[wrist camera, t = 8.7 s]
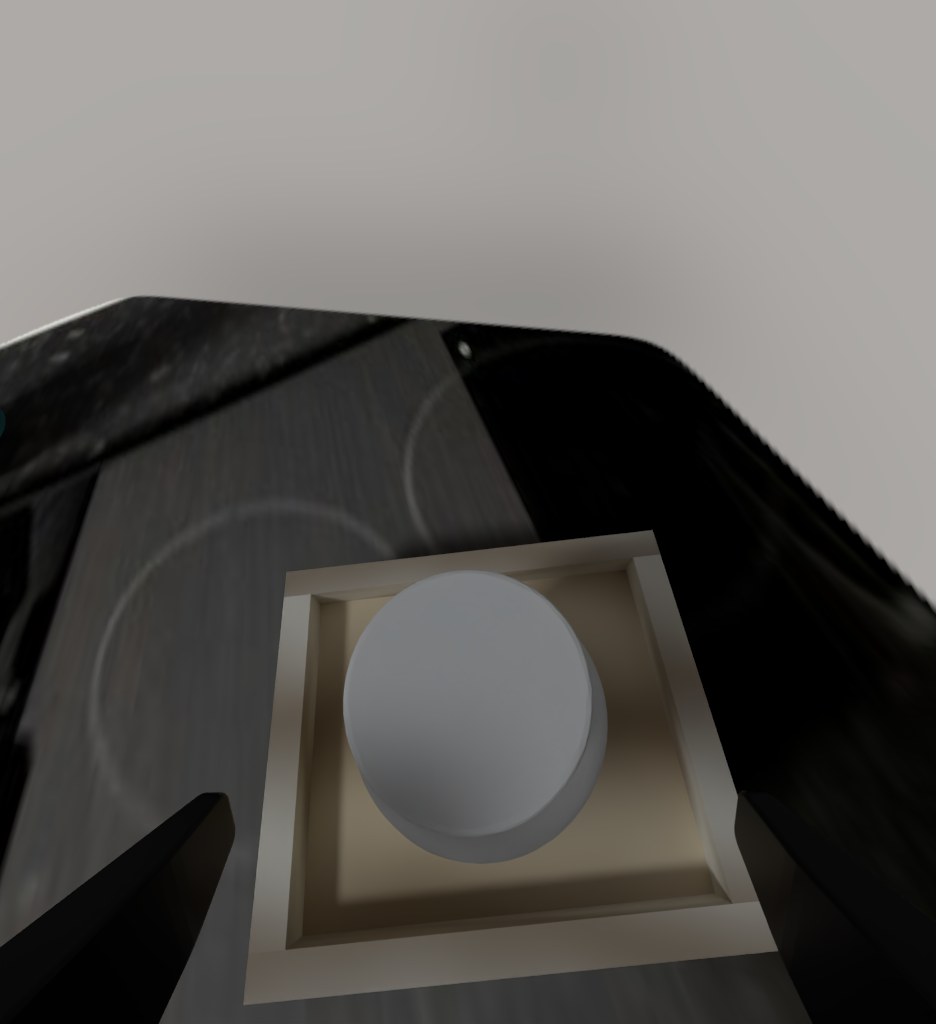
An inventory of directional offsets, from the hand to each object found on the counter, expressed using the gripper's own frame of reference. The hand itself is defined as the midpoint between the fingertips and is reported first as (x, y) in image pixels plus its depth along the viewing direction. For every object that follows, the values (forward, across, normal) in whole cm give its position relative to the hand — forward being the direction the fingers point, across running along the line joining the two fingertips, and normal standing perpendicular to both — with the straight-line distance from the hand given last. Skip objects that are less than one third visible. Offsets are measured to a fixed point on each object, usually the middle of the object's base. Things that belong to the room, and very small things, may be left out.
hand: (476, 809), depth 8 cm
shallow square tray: (+9, 0, +6) cm, 11 cm away
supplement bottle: (+7, 0, +4) cm, 8 cm away
